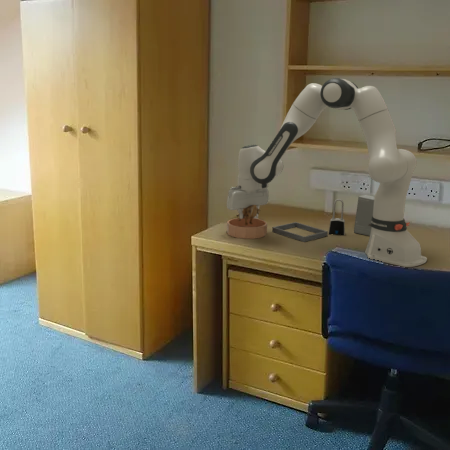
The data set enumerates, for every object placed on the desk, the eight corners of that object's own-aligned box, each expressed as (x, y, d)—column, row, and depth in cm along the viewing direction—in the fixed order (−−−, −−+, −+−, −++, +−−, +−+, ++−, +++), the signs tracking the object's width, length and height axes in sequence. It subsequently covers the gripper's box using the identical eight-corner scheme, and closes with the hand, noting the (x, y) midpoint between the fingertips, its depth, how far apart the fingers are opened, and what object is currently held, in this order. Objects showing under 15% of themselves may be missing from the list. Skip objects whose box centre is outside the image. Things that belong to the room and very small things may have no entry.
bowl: (274, 234, 242) (274, 223, 241) (245, 240, 232) (245, 230, 231) (248, 225, 254) (248, 215, 253) (219, 231, 244) (219, 221, 243)
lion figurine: (260, 226, 239) (262, 205, 236) (250, 228, 236) (251, 206, 233) (241, 216, 251) (242, 196, 248) (230, 217, 248) (232, 197, 245)
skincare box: (353, 232, 246) (356, 196, 242) (361, 229, 251) (364, 193, 247) (371, 236, 241) (375, 199, 236) (379, 233, 246) (382, 196, 242)
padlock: (328, 234, 243) (330, 199, 239) (328, 231, 247) (331, 197, 243) (344, 235, 242) (347, 200, 238) (344, 233, 246) (347, 198, 242)
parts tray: (327, 236, 241) (327, 231, 240) (303, 242, 232) (304, 237, 231) (295, 226, 254) (295, 222, 254) (272, 231, 245) (272, 227, 245)
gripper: (233, 188, 229) (233, 222, 232) (271, 183, 241) (270, 215, 245) (223, 186, 233) (223, 219, 237) (261, 180, 246) (259, 212, 250)
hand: (247, 217), depth 241 cm, fingers closed on lion figurine, 4 cm apart
